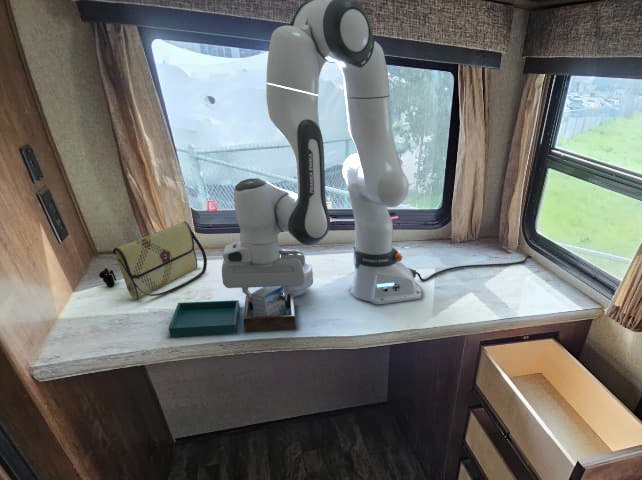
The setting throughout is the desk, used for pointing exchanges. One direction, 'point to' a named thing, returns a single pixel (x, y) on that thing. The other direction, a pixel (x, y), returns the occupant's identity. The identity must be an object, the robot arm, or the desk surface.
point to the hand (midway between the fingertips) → (268, 300)
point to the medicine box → (268, 302)
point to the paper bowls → (309, 281)
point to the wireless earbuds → (108, 277)
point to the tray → (205, 318)
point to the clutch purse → (158, 260)
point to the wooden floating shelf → (269, 318)
